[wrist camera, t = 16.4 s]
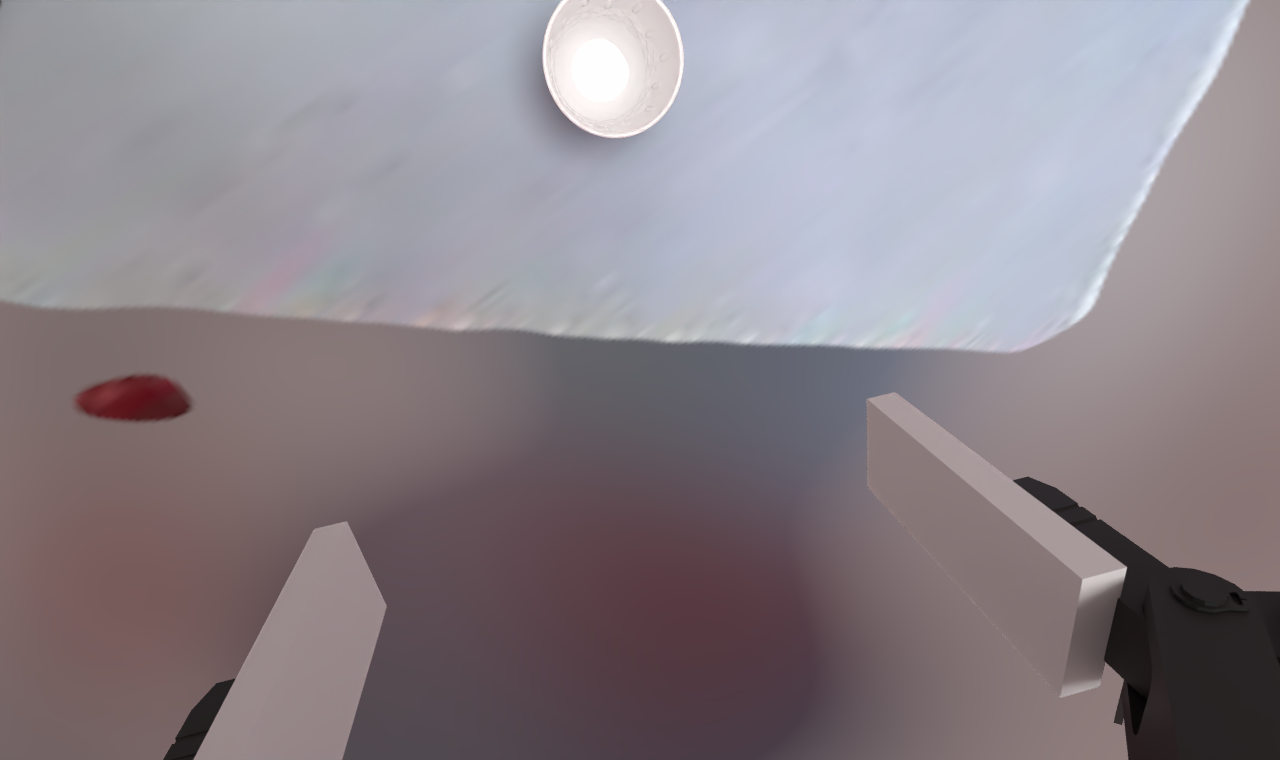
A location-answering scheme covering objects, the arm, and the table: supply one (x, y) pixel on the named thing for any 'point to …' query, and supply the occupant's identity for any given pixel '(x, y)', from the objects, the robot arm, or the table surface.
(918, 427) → the robot arm
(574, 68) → the white cup
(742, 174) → the table surface
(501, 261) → the table surface
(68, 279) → the table surface
